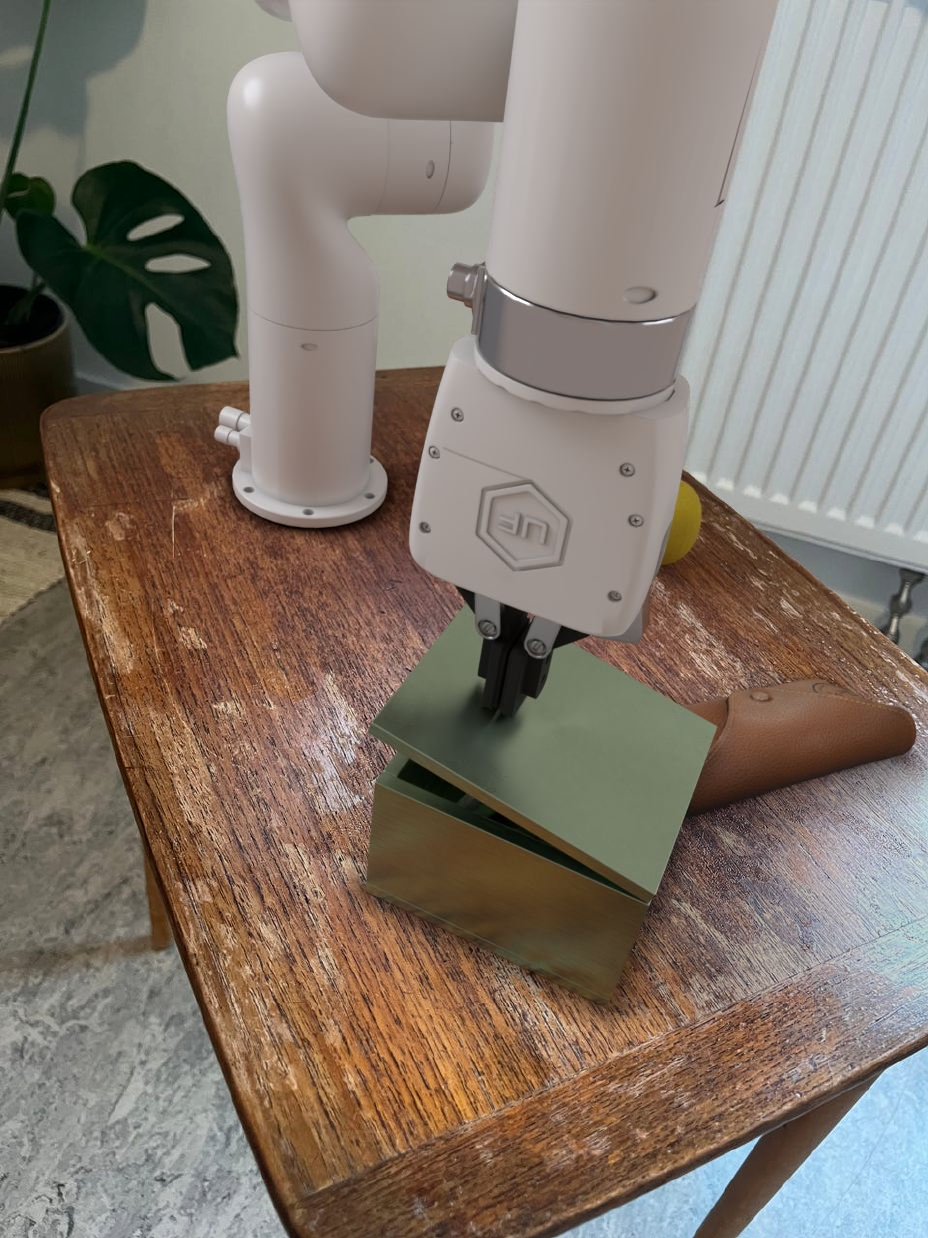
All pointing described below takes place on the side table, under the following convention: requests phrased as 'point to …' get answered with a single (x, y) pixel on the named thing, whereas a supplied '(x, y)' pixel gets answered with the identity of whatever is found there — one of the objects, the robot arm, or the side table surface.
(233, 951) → the side table surface
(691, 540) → the lemon
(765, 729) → the sunglasses case
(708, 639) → the side table surface
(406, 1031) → the side table surface
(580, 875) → the bin
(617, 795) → the bin lid
